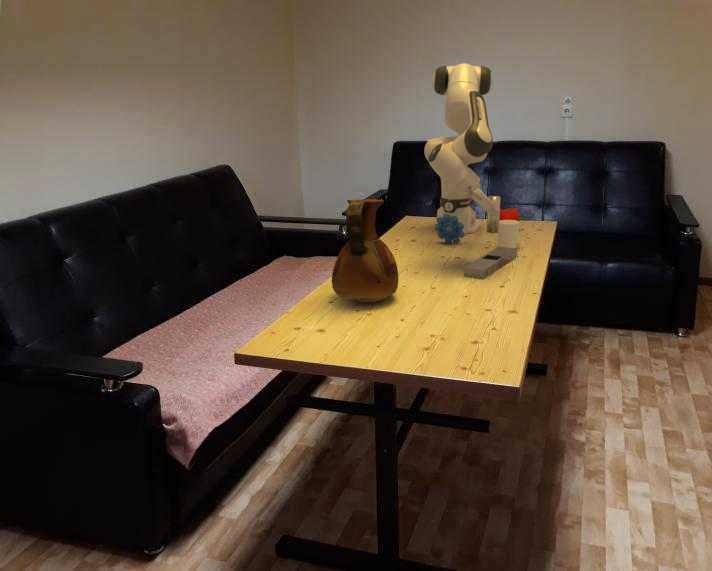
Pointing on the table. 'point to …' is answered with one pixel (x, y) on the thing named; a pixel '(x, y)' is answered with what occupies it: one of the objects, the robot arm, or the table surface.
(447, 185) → the robot arm
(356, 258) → the ceramic pitcher
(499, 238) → the white cup
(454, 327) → the table surface
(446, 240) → the grapes
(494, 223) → the pin
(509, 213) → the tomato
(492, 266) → the grey slab
